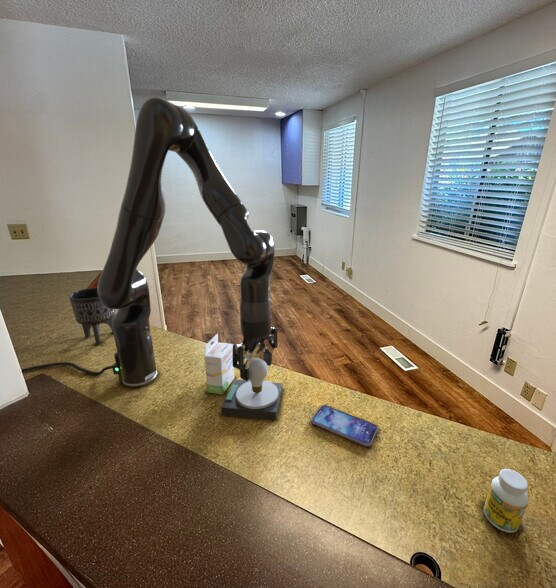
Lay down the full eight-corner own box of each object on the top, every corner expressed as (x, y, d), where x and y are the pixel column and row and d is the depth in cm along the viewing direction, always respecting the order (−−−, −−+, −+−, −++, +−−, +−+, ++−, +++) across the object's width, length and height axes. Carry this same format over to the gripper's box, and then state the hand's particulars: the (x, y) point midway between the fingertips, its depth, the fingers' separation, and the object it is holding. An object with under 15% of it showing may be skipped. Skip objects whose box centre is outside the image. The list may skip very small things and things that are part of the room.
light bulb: (271, 388, 83) (271, 356, 80) (262, 401, 78) (262, 368, 74) (252, 383, 85) (251, 352, 81) (242, 396, 80) (240, 363, 76)
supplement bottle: (523, 522, 54) (538, 482, 51) (510, 540, 51) (526, 500, 48) (490, 498, 58) (503, 460, 55) (477, 513, 55) (490, 475, 52)
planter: (110, 326, 122) (102, 285, 116) (126, 336, 115) (118, 292, 109) (73, 338, 113) (62, 293, 107) (89, 349, 106) (78, 302, 100)
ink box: (223, 395, 84) (220, 348, 80) (206, 392, 85) (202, 346, 80) (235, 377, 93) (233, 334, 88) (220, 375, 93) (217, 332, 88)
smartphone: (322, 403, 81) (378, 425, 74) (322, 406, 81) (378, 428, 74) (310, 420, 75) (369, 445, 68) (310, 423, 75) (369, 448, 68)
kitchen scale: (221, 415, 77) (220, 404, 76) (234, 386, 89) (234, 376, 88) (275, 420, 76) (275, 409, 75) (282, 390, 87) (282, 380, 86)
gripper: (263, 302, 81) (264, 355, 87) (222, 320, 70) (226, 379, 76) (285, 309, 77) (284, 364, 83) (246, 329, 66) (248, 391, 72)
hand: (256, 371), depth 79 cm, fingers open, 8 cm apart
